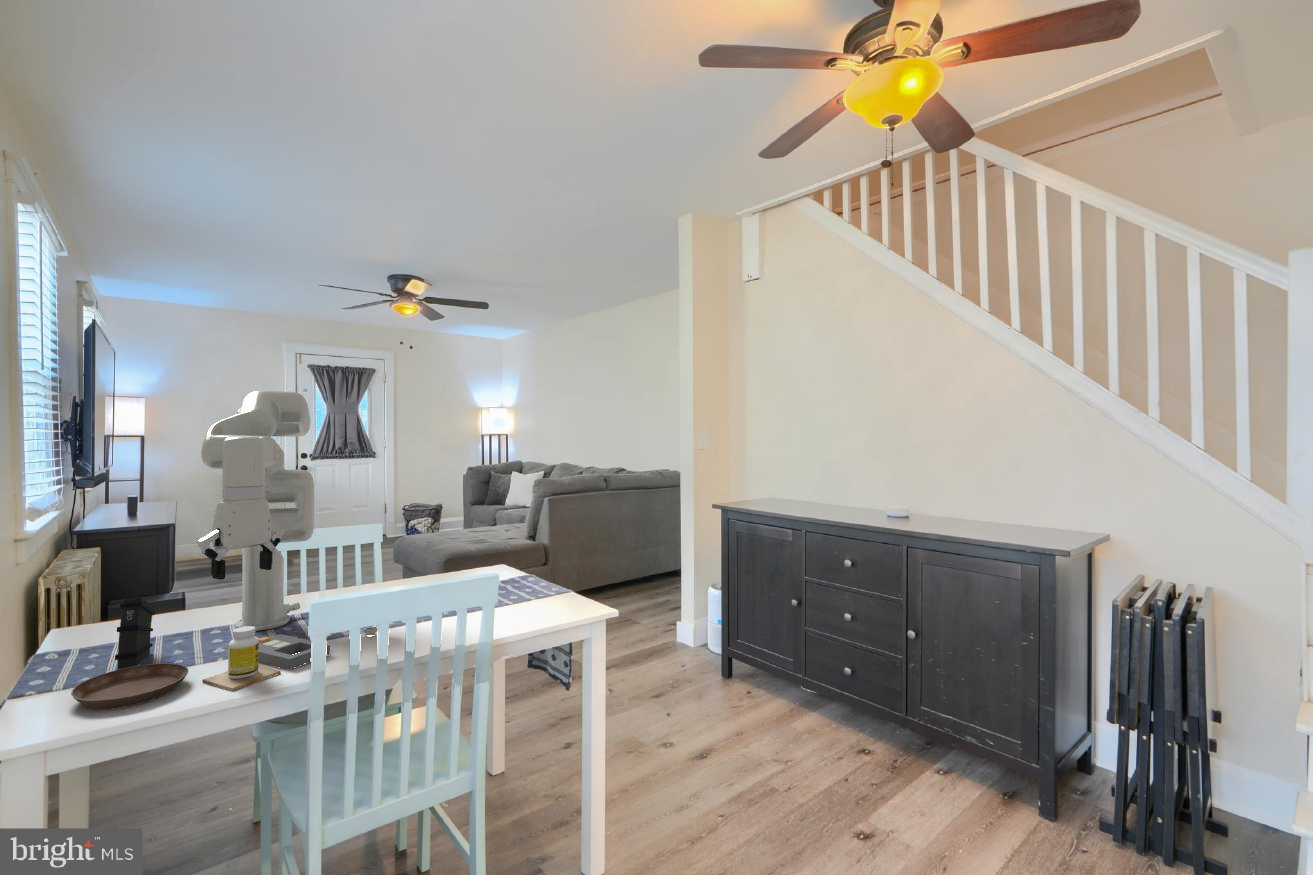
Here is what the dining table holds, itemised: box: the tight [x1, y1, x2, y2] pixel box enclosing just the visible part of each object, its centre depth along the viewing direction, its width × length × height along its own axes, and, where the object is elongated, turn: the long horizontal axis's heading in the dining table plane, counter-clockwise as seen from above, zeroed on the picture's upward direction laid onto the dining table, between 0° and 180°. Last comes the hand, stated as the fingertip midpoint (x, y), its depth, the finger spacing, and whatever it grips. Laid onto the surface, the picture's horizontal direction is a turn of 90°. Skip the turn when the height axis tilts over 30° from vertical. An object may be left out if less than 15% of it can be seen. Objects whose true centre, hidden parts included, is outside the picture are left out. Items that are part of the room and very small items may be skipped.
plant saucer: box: [70, 662, 189, 710], centre depth 120 cm, size 18×18×3 cm
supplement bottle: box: [227, 626, 260, 679], centre depth 129 cm, size 5×5×10 cm
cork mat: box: [201, 664, 281, 692], centre depth 128 cm, size 10×10×1 cm
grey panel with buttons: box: [258, 633, 331, 671], centre depth 141 cm, size 10×18×3 cm, turn 66°
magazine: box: [114, 596, 156, 670], centre depth 137 cm, size 4×13×15 cm, turn 26°
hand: (242, 573), depth 129 cm, fingers open, 9 cm apart
